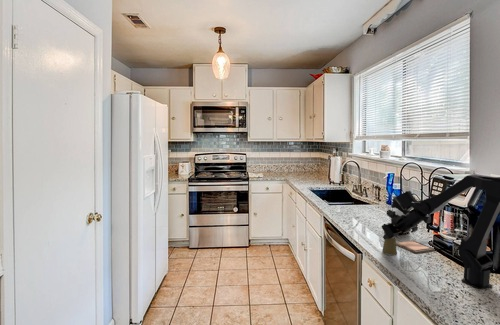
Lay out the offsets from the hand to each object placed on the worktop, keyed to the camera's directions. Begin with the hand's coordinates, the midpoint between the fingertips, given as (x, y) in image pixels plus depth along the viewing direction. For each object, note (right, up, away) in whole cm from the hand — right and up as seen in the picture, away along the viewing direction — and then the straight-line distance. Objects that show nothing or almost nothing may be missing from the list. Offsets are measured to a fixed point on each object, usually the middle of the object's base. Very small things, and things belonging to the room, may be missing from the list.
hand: (387, 237), depth 133 cm
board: (+19, -6, +6) cm, 21 cm away
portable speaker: (+20, -5, +28) cm, 34 cm away
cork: (+1, -7, -1) cm, 7 cm away
